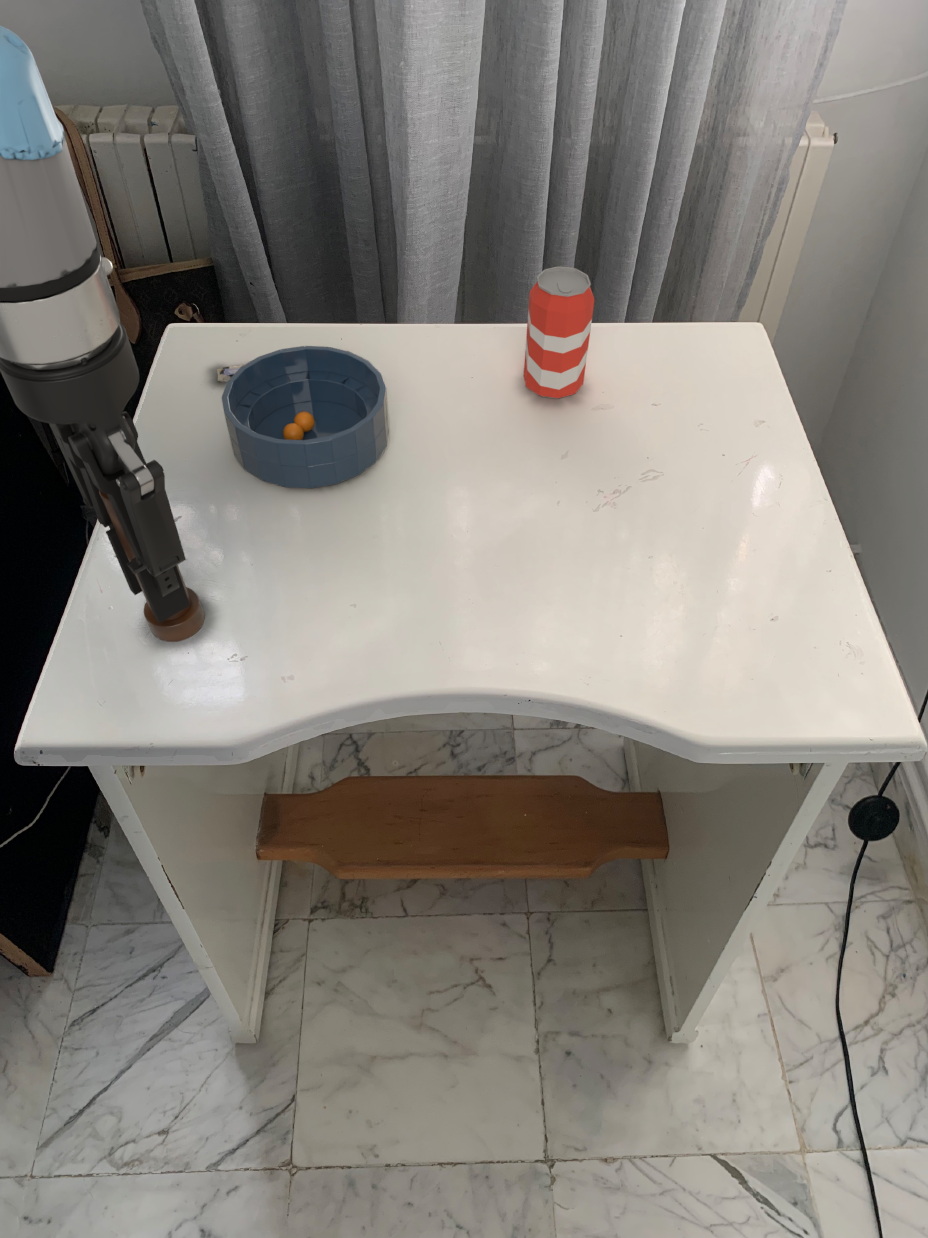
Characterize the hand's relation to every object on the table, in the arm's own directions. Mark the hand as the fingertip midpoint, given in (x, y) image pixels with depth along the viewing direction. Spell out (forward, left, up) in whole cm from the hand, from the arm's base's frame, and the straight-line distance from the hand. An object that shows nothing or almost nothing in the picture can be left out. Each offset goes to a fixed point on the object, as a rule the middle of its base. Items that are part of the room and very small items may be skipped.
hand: (160, 597), depth 70 cm
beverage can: (+32, +35, -4) cm, 47 cm away
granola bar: (-1, +35, -4) cm, 35 cm away
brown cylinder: (0, 0, -3) cm, 4 cm away
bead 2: (+7, +25, -2) cm, 26 cm away
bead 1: (+6, +23, -2) cm, 24 cm away
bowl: (+8, +24, -3) cm, 25 cm away
